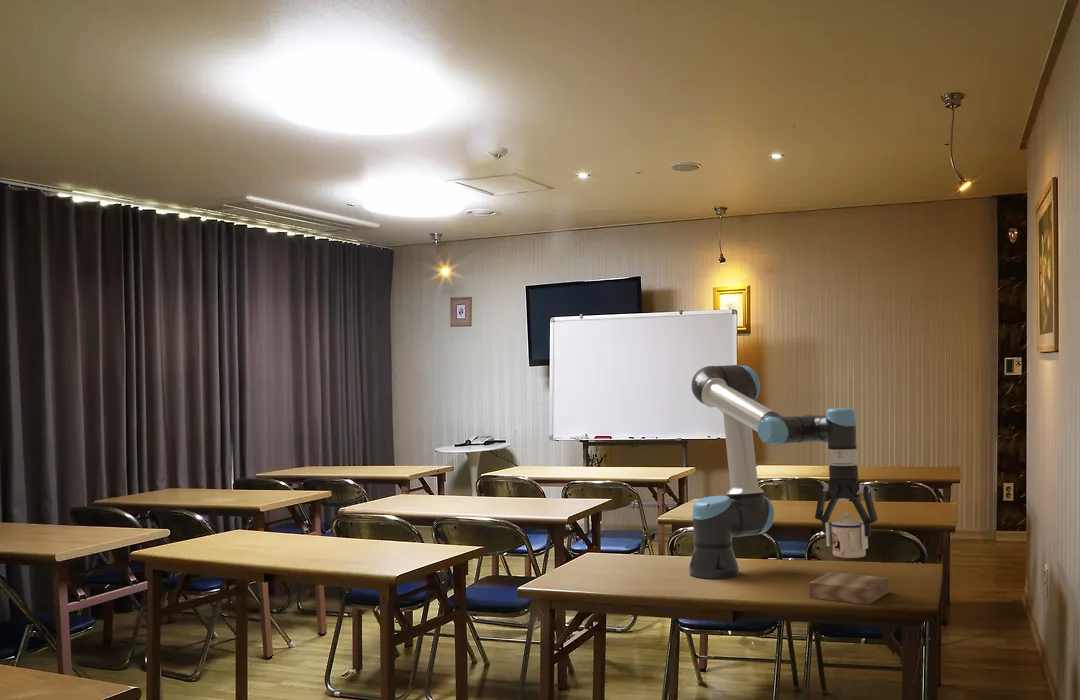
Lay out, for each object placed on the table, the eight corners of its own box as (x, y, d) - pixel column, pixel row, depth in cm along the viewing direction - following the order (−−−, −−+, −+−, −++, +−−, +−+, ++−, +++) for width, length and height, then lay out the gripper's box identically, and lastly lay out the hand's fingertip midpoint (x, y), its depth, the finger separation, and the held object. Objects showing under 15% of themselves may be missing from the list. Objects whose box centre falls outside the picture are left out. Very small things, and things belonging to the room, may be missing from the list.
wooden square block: (809, 597, 244) (809, 582, 244) (830, 586, 257) (829, 571, 257) (869, 604, 234) (868, 589, 234) (888, 592, 247) (887, 577, 247)
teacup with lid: (829, 552, 252) (827, 510, 252) (863, 552, 251) (860, 510, 251) (836, 560, 240) (834, 516, 241) (872, 560, 239) (869, 516, 239)
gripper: (799, 464, 251) (803, 546, 249) (879, 466, 237) (883, 552, 236) (809, 462, 257) (813, 541, 255) (887, 464, 243) (892, 548, 242)
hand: (847, 546), depth 246 cm, fingers closed on teacup with lid, 9 cm apart
